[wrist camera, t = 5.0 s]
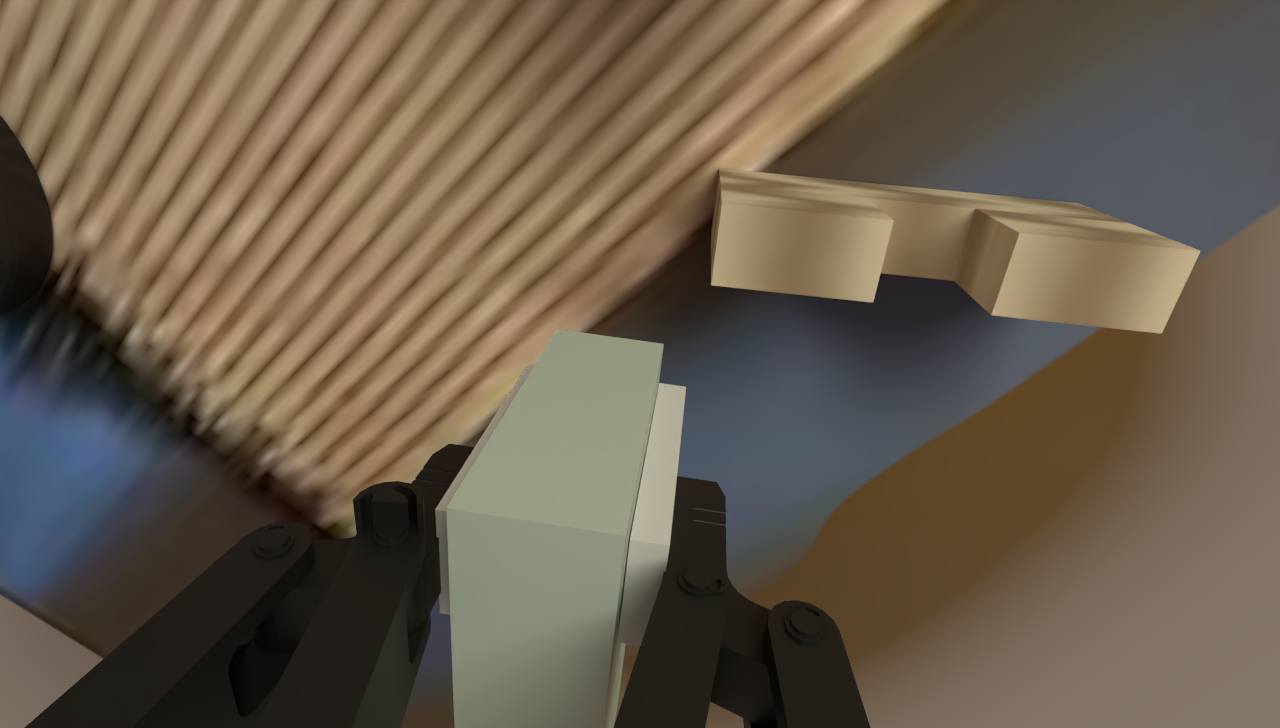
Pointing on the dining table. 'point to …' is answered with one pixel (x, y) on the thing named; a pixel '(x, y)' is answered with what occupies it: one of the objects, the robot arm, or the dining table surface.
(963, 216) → the u-shaped wooden block
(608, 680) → the grey-green block
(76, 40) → the dining table surface
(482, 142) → the dining table surface
